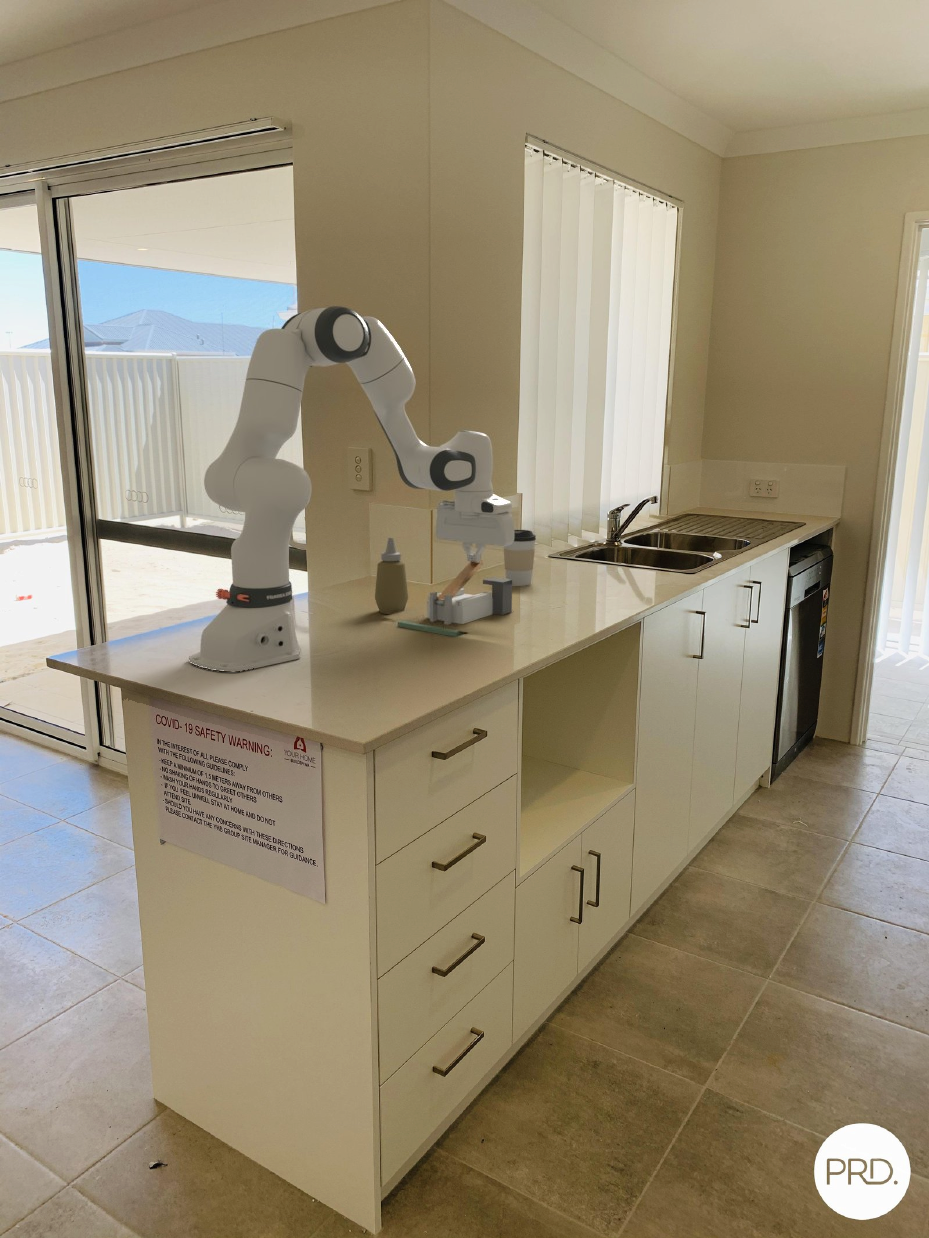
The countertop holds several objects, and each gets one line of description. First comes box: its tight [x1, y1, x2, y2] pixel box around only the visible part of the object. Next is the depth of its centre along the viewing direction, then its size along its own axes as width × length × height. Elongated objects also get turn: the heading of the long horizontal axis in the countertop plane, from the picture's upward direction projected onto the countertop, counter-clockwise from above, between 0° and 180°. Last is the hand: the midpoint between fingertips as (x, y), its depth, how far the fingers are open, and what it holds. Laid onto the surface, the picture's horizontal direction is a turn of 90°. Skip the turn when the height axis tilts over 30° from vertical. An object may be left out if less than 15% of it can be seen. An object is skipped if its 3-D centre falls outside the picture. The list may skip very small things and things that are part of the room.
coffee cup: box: [503, 529, 537, 587], centre depth 259 cm, size 9×9×15 cm
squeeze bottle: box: [374, 537, 409, 615], centre depth 224 cm, size 8×8×18 cm
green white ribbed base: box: [397, 587, 508, 638], centre depth 217 cm, size 26×16×8 cm, turn 145°
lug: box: [482, 576, 513, 616], centre depth 221 cm, size 4×6×8 cm
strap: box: [435, 559, 484, 606], centre depth 215 cm, size 17×3×1 cm, turn 145°
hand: (474, 561), depth 219 cm, fingers closed, pressing on strap
